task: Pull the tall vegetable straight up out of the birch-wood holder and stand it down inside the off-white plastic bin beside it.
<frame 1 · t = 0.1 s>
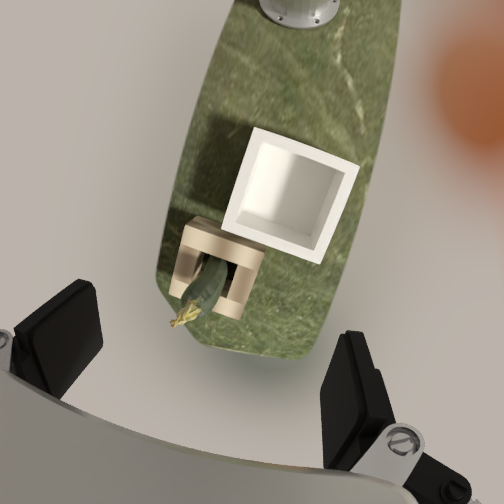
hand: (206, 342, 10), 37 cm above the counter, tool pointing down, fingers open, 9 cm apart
bin: (289, 189, 45), on the counter
vegetable: (221, 260, 50), resting in holder
holder: (221, 260, 50), on the counter
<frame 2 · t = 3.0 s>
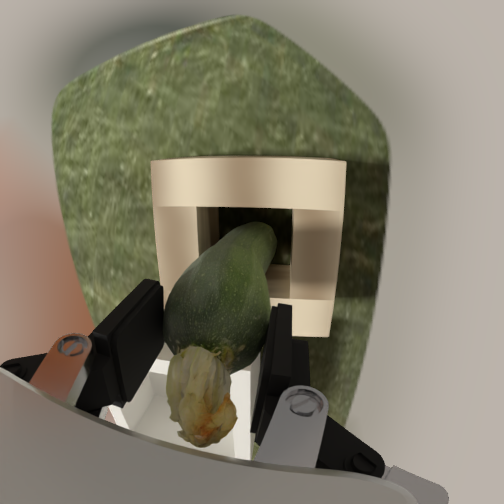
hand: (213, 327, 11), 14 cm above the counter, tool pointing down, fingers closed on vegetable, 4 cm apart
bin: (194, 362, 30), on the counter
vegetable: (255, 228, 25), resting in holder, touching gripper
holder: (254, 229, 25), on the counter
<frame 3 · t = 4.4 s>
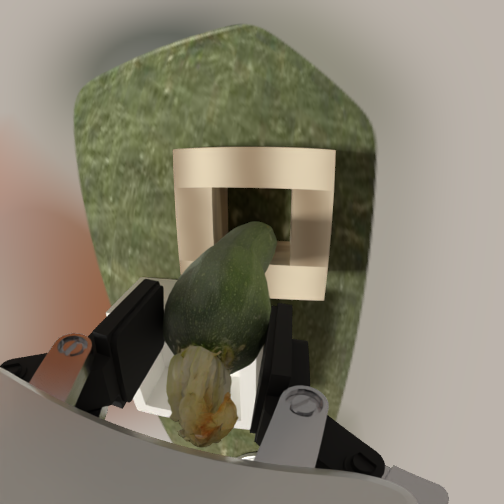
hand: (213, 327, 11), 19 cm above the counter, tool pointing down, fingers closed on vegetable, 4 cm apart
bin: (203, 334, 34), on the counter
vegetable: (255, 228, 25), point 4 cm above the counter, touching gripper
holder: (259, 210, 28), on the counter
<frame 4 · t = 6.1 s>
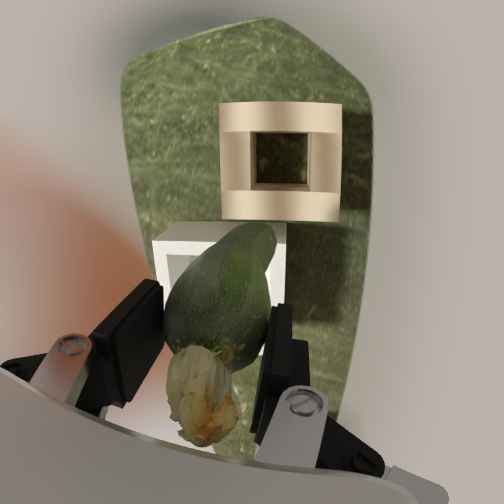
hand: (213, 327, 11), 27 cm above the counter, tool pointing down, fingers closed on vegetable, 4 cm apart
bin: (232, 272, 40), on the counter
vegetable: (255, 228, 25), point 12 cm above the counter, touching gripper
holder: (282, 158, 34), on the counter
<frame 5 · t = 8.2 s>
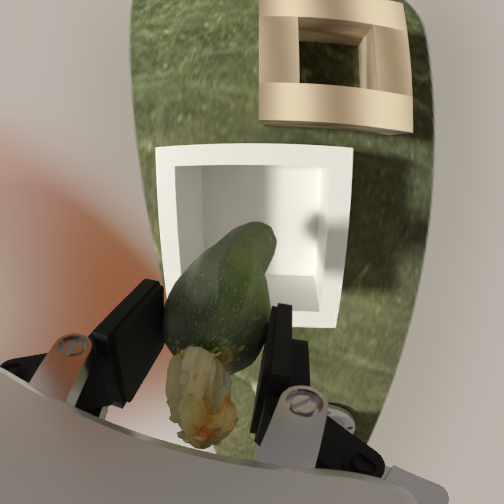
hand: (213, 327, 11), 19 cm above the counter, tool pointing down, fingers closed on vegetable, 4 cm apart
bin: (260, 217, 29), on the counter
vegetable: (254, 228, 25), point 5 cm above the counter, touching gripper
holder: (328, 69, 24), on the counter
when the fingers open (17 cm above the counter, at t = 9.0 s): vegetable drops 2 cm, resting on bin.
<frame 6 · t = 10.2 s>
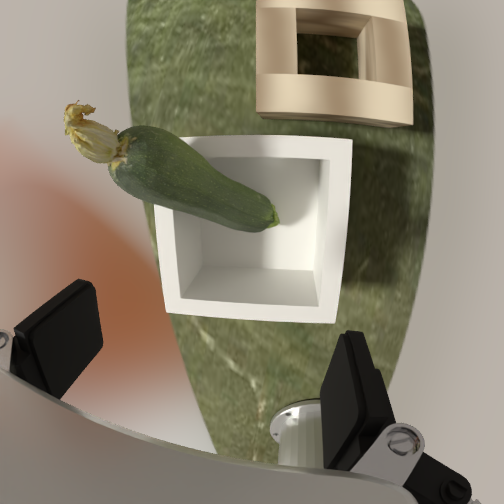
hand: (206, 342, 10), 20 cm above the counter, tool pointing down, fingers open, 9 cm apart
bin: (258, 211, 29), on the counter
vegetable: (267, 216, 28), point 1 cm above the counter, touching bin
holder: (327, 61, 23), on the counter
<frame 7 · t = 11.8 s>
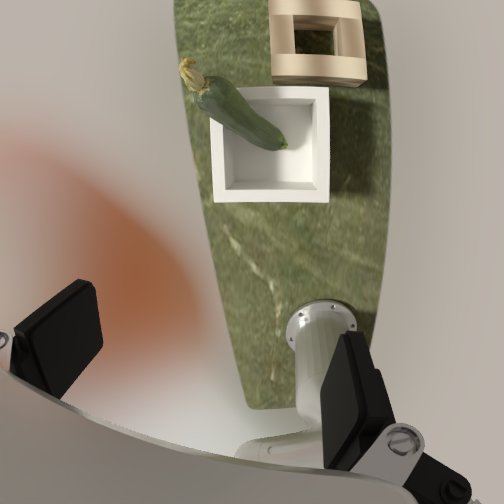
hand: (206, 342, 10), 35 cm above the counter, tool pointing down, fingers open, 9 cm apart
bin: (272, 143, 41), on the counter
vegetable: (279, 145, 40), point 1 cm above the counter, touching bin
holder: (313, 47, 35), on the counter
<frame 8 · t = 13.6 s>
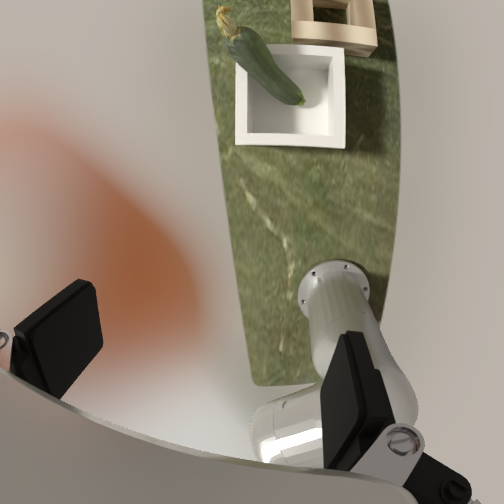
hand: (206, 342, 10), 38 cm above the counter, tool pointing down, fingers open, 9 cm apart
bin: (290, 102, 41), on the counter
vegetable: (296, 103, 40), point 1 cm above the counter, touching bin
holder: (328, 22, 35), on the counter
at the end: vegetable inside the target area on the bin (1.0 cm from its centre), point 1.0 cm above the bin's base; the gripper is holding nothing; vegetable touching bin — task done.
